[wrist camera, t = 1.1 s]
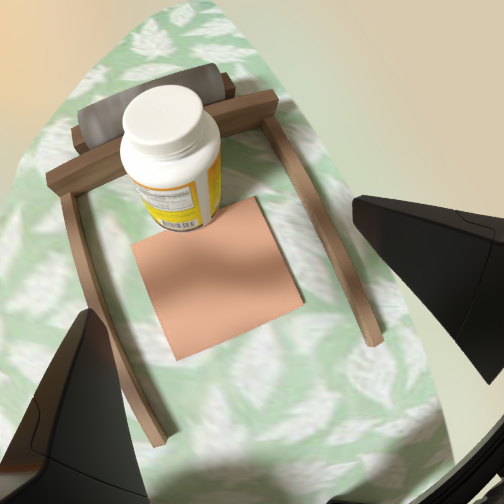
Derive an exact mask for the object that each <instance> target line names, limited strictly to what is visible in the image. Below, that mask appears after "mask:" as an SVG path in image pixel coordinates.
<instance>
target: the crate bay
mask: <svg viewBox="0 0 504 504" xmlns="http://www.w3.org/2000/svg"><path fill="white" fill-rule="evenodd" d="M163 85H179V86H183V87H186V88H189V89H190V90H192V91H194V92H195V93H196V94H197V95H198V96H199V98H200V99H201V101H202V104H203V110H204V111H206V112H207V113H208V114H209V115H210V116H211V117H212V118H213V119H214V121H215V122H216V124H217V126H218V129H219V132H220V139H221V138H224V137H228V136H231V135H234V134H237V133H241V132H244V131H247V130H251V129H254V128H258V127H262V129H263V130H264V132H265V134H266V136H267V138H268V139H269V141H270V143H271V145H272V147H273V148H274V150H275V152H276V154H277V156H278V157H279V159H280V161H281V163H282V165H283V167H284V169H285V171H286V172H287V174H288V176H289V178H290V180H291V182H292V184H293V186H294V188H295V190H296V192H297V193H298V195H299V197H300V199H301V201H302V203H303V205H304V207H305V209H306V211H307V213H308V215H309V217H310V219H311V221H312V223H313V225H314V227H315V229H316V231H317V234H318V236H319V238H320V240H321V242H322V244H323V246H324V248H325V250H326V252H327V255H328V257H329V259H330V261H331V263H332V265H333V268H334V270H335V272H336V274H337V276H338V279H339V281H340V283H341V285H342V287H343V290H344V292H345V294H346V297H347V299H348V301H349V303H350V306H351V308H352V310H353V313H354V315H355V318H356V320H357V322H358V325H359V327H360V329H361V332H362V334H363V337H364V339H365V342H366V344H367V346H370V347H376V346H377V345H379V344H380V343H382V342H383V341H384V338H383V336H382V333H381V331H380V328H379V326H378V323H377V321H376V318H375V316H374V313H373V311H372V309H371V306H370V304H369V301H368V299H367V297H366V294H365V292H364V290H363V287H362V285H361V283H360V280H359V278H358V276H357V274H356V271H355V269H354V267H353V265H352V263H351V260H350V258H349V256H348V254H347V252H346V250H345V248H344V245H343V243H342V241H341V239H340V237H339V235H338V233H337V231H336V229H335V227H334V225H333V223H332V221H331V219H330V217H329V215H328V213H327V211H326V209H325V207H324V205H323V203H322V201H321V199H320V197H319V195H318V193H317V191H316V189H315V188H314V186H313V184H312V182H311V180H310V178H309V176H308V175H307V173H306V171H305V169H304V167H303V165H302V164H301V162H300V160H299V158H298V156H297V155H296V153H295V151H294V149H293V148H292V146H291V144H290V142H289V141H288V139H287V137H286V135H285V134H284V132H283V130H282V129H281V127H280V125H279V124H278V122H277V120H276V119H275V117H274V114H275V110H276V107H277V104H278V101H279V99H278V97H277V95H276V94H275V92H274V91H273V89H270V90H266V91H261V92H257V93H253V94H248V95H244V96H240V97H236V98H234V97H235V88H236V87H235V86H234V84H233V82H232V81H231V79H230V77H229V76H228V74H227V73H226V72H225V73H221V74H220V71H219V69H218V68H217V66H216V65H215V64H214V63H210V64H206V65H202V66H198V67H195V68H191V69H187V70H184V71H180V72H177V73H174V74H171V75H167V76H164V77H161V78H158V79H155V80H152V81H149V82H146V83H144V84H141V85H138V86H135V87H133V88H130V89H127V90H125V91H122V92H120V93H117V94H115V95H112V96H110V97H108V98H105V99H103V100H101V101H98V102H96V103H94V104H92V105H90V106H87V107H85V108H83V109H81V110H79V111H78V114H77V115H78V122H79V125H77V126H75V127H73V128H71V131H72V139H73V145H74V148H75V149H76V151H77V152H78V153H79V155H80V156H78V157H76V158H74V159H72V160H70V161H68V162H66V163H64V164H62V165H60V166H58V167H56V168H55V169H53V170H51V171H49V172H47V173H46V180H47V186H48V187H49V188H50V189H51V190H52V191H53V192H55V193H56V194H57V195H58V196H59V197H60V199H61V205H62V210H63V215H64V220H65V225H66V229H67V234H68V238H69V242H70V246H71V250H72V254H73V258H74V262H75V265H76V269H77V273H78V276H79V279H80V283H81V286H82V289H83V292H84V296H85V299H86V302H87V305H88V308H92V309H93V310H94V311H95V312H96V313H97V315H98V316H99V317H100V319H101V320H102V321H103V323H104V324H105V326H106V327H107V330H108V333H109V338H110V342H111V346H112V350H113V354H114V358H115V362H116V366H117V370H118V375H119V380H120V386H121V388H122V391H123V393H124V395H125V397H126V399H127V401H128V403H129V405H130V407H131V409H132V410H133V412H134V414H135V416H136V418H137V420H138V422H139V423H140V425H141V427H142V429H143V431H144V432H145V434H146V436H147V438H148V439H149V441H150V443H151V444H152V446H153V448H155V447H159V446H162V445H165V444H166V442H167V439H168V438H167V436H166V434H165V433H164V431H163V429H162V427H161V426H160V424H159V422H158V420H157V418H156V416H155V415H154V413H153V411H152V409H151V407H150V405H149V403H148V401H147V399H146V397H145V395H144V393H143V391H142V389H141V387H140V385H139V383H138V381H137V379H136V377H135V375H134V372H133V370H132V368H131V366H130V364H129V361H128V359H127V357H126V354H125V352H124V350H123V347H122V345H121V343H120V340H119V338H118V335H117V333H116V330H115V328H114V325H113V323H112V320H111V317H110V315H109V312H108V309H107V306H106V304H105V301H104V298H103V295H102V292H101V289H100V286H99V283H98V280H97V277H96V273H95V270H94V267H93V264H92V260H91V257H90V253H89V250H88V246H87V242H86V239H85V235H84V231H83V227H82V223H81V219H80V214H79V210H78V205H77V201H76V197H78V196H80V195H82V194H84V193H86V192H88V191H90V190H92V189H95V188H97V187H99V186H101V185H103V184H105V183H107V182H110V181H112V180H114V179H116V178H119V177H121V176H123V175H125V174H127V172H126V170H125V168H124V166H123V163H122V160H121V155H120V147H121V141H122V138H123V136H124V133H125V131H124V128H123V115H124V112H125V110H126V108H127V107H128V105H129V104H130V103H131V101H132V100H133V99H135V98H136V97H137V96H138V95H140V94H141V93H143V92H145V91H147V90H149V89H151V88H154V87H158V86H163ZM131 248H132V251H133V254H134V256H135V259H136V262H137V265H138V268H139V271H140V273H141V276H142V279H143V281H144V284H145V287H146V289H147V292H148V295H149V297H150V300H151V302H152V305H153V307H154V310H155V312H156V315H157V317H158V320H159V322H160V324H161V327H162V329H163V331H164V334H165V336H166V338H167V341H168V343H169V345H170V347H171V350H172V352H173V354H174V356H175V358H176V360H177V361H178V360H180V359H183V358H185V357H188V356H190V355H193V354H195V353H198V352H200V351H203V350H205V349H208V348H210V347H212V346H215V345H217V344H219V343H222V342H224V341H226V340H229V339H231V338H233V337H236V336H238V335H240V334H242V333H245V332H247V331H249V330H251V329H254V328H256V327H258V326H260V325H262V324H265V323H267V322H269V321H271V320H273V319H275V318H277V317H280V316H282V315H284V314H286V313H288V312H290V311H292V310H294V309H296V308H298V307H300V306H303V305H304V304H303V301H302V299H301V297H300V295H299V293H298V290H297V288H296V286H295V284H294V282H293V279H292V277H291V275H290V273H289V271H288V268H287V266H286V264H285V262H284V260H283V258H282V255H281V253H280V251H279V249H278V247H277V245H276V243H275V240H274V238H273V236H272V234H271V232H270V230H269V228H268V225H267V223H266V221H265V219H264V217H263V215H262V213H261V211H260V209H259V206H258V204H257V202H256V200H255V198H254V196H253V197H250V198H247V199H244V200H242V201H239V202H236V203H234V204H231V205H229V206H226V207H223V208H221V209H218V212H217V213H216V215H215V216H214V218H213V219H212V220H211V221H210V222H209V223H208V224H207V225H205V226H204V227H202V228H201V229H198V230H196V231H193V232H189V233H176V232H172V231H169V230H166V231H163V232H161V233H159V234H156V235H154V236H152V237H149V238H147V239H145V240H142V241H140V242H138V243H135V244H133V245H131Z"/></svg>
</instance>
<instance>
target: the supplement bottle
mask: <svg viewBox="0 0 504 504" xmlns="http://www.w3.org/2000/svg"><path fill="white" fill-rule="evenodd" d="M123 128H124V131H125V133H124V136H123V138H122V141H121V147H120V155H121V160H122V163H123V166H124V168H125V170H126V172H127V174H128V176H129V178H130V179H131V181H132V183H133V184H134V186H135V188H136V190H137V191H138V193H139V195H140V197H141V199H142V200H143V202H144V204H145V205H146V207H147V209H148V211H149V212H150V214H151V216H152V217H153V219H154V220H155V221H156V222H157V223H158V224H159V225H160V226H161V227H163V228H164V229H166V230H169V231H172V232H176V233H189V232H193V231H196V230H198V229H201V228H202V227H204V226H205V225H207V224H208V223H209V222H210V221H211V220H212V219H213V218H214V216H215V215H216V213H217V212H218V209H219V207H220V203H221V157H220V132H219V129H218V126H217V124H216V122H215V121H214V119H213V118H212V117H211V116H210V115H209V114H208V113H207V112H206V111H204V110H203V104H202V101H201V99H200V98H199V96H198V95H197V94H196V93H195V92H194V91H192V90H190V89H189V88H186V87H183V86H179V85H163V86H158V87H154V88H151V89H149V90H147V91H145V92H143V93H141V94H140V95H138V96H137V97H136V98H135V99H133V100H132V101H131V103H130V104H129V105H128V107H127V108H126V110H125V112H124V115H123Z"/></svg>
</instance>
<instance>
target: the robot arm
mask: <svg viewBox="0 0 504 504" xmlns="http://www.w3.org/2000/svg"><path fill="white" fill-rule="evenodd" d="M352 213H353V223H354V225H355V227H356V228H357V229H358V230H359V231H360V233H361V234H362V235H363V236H364V238H365V239H366V240H367V241H368V243H369V244H370V245H371V246H372V248H373V249H374V250H375V251H376V253H377V254H378V255H379V256H380V257H381V258H382V259H383V260H384V262H385V263H386V264H387V265H388V266H389V267H390V268H391V269H392V270H393V271H394V272H395V273H396V274H397V275H398V276H399V277H400V278H401V279H402V281H403V282H404V283H405V284H406V285H407V286H408V287H409V288H410V289H411V291H412V292H413V293H414V294H415V295H416V296H417V297H418V298H419V299H420V300H421V302H422V303H423V304H424V305H425V306H426V307H427V309H428V310H429V311H430V312H431V313H432V314H433V316H434V317H435V318H436V319H437V320H438V321H439V323H440V324H441V325H442V326H443V327H444V329H445V330H446V331H447V332H448V333H449V334H450V336H451V337H452V338H453V340H455V342H456V343H457V345H458V346H459V347H460V348H461V350H462V351H463V352H464V353H465V355H466V356H467V357H468V359H469V360H470V361H471V363H472V364H473V365H474V367H475V368H476V369H477V371H478V372H479V373H480V375H481V376H482V377H483V379H484V380H485V381H486V383H487V384H489V385H490V384H491V382H492V381H493V380H494V379H495V378H496V377H497V376H498V374H499V373H500V372H501V371H502V370H503V368H504V218H498V217H491V216H485V215H479V214H474V213H468V212H464V211H458V210H455V211H454V210H453V209H448V208H443V207H437V206H432V205H426V204H420V203H414V202H408V201H402V200H395V199H388V198H381V197H375V196H367V195H361V196H359V197H356V198H354V199H353V201H352ZM496 474H498V475H499V476H500V478H501V479H502V481H500V482H499V483H497V484H496V485H495V486H494V487H492V488H491V489H490V490H489V491H488V492H487V493H486V494H485V495H484V496H483V498H482V499H479V500H476V501H475V502H474V503H473V504H504V415H503V416H502V417H501V419H500V420H499V421H498V422H497V423H496V425H495V426H494V427H493V428H492V429H491V430H490V431H489V432H488V434H487V435H486V436H485V437H484V438H483V439H482V440H481V441H480V442H479V443H478V444H477V445H476V446H475V447H474V448H473V449H472V450H471V451H470V452H469V453H468V454H467V455H466V456H465V457H464V458H463V459H462V460H461V461H460V462H459V463H458V464H457V465H456V466H455V467H454V468H452V469H451V470H450V471H449V472H448V473H447V474H446V475H445V476H443V477H442V478H441V479H440V480H439V481H437V482H436V483H435V484H434V485H433V486H431V487H430V488H429V489H428V490H426V491H425V492H424V493H422V494H421V495H420V496H418V497H417V498H416V499H414V500H413V501H412V502H410V503H409V504H467V503H468V502H470V501H471V500H472V499H473V498H474V497H475V496H476V495H477V494H478V493H479V492H480V491H481V490H482V489H483V488H484V487H485V486H486V485H487V484H488V483H489V481H490V480H491V479H492V478H493V477H494V476H495V475H496ZM147 497H148V496H147V493H146V490H145V486H144V483H143V480H142V477H141V473H140V470H139V466H138V463H137V459H136V456H135V452H134V448H133V444H132V440H131V436H130V431H129V427H128V423H127V418H126V413H125V408H124V403H123V398H122V392H121V386H120V380H119V375H118V370H117V366H116V362H115V358H114V354H113V350H112V346H111V342H110V338H109V333H108V330H107V327H106V326H105V324H104V323H103V321H102V320H101V319H100V317H99V316H98V315H97V313H96V312H95V311H94V310H93V309H92V308H88V309H85V310H83V311H81V312H80V313H79V314H78V316H77V318H76V319H75V321H74V322H73V324H72V326H71V327H70V329H69V331H68V333H67V334H66V336H65V338H64V339H63V341H62V343H61V345H60V346H59V348H58V350H57V352H56V354H55V355H54V357H53V359H52V361H51V363H50V364H49V366H48V368H47V370H46V372H45V374H44V376H43V378H42V380H41V382H40V384H39V386H38V388H37V390H36V392H35V394H34V397H33V398H32V400H31V402H30V404H29V406H28V408H27V410H26V412H25V415H24V417H23V419H22V421H21V423H20V425H19V427H18V429H17V431H16V433H15V435H14V437H13V439H12V441H11V442H10V445H9V447H8V449H7V451H6V453H5V455H4V457H3V459H2V461H1V463H0V504H150V501H149V498H147ZM327 504H362V503H352V502H343V501H336V500H332V501H329V502H328V503H327Z"/></svg>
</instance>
